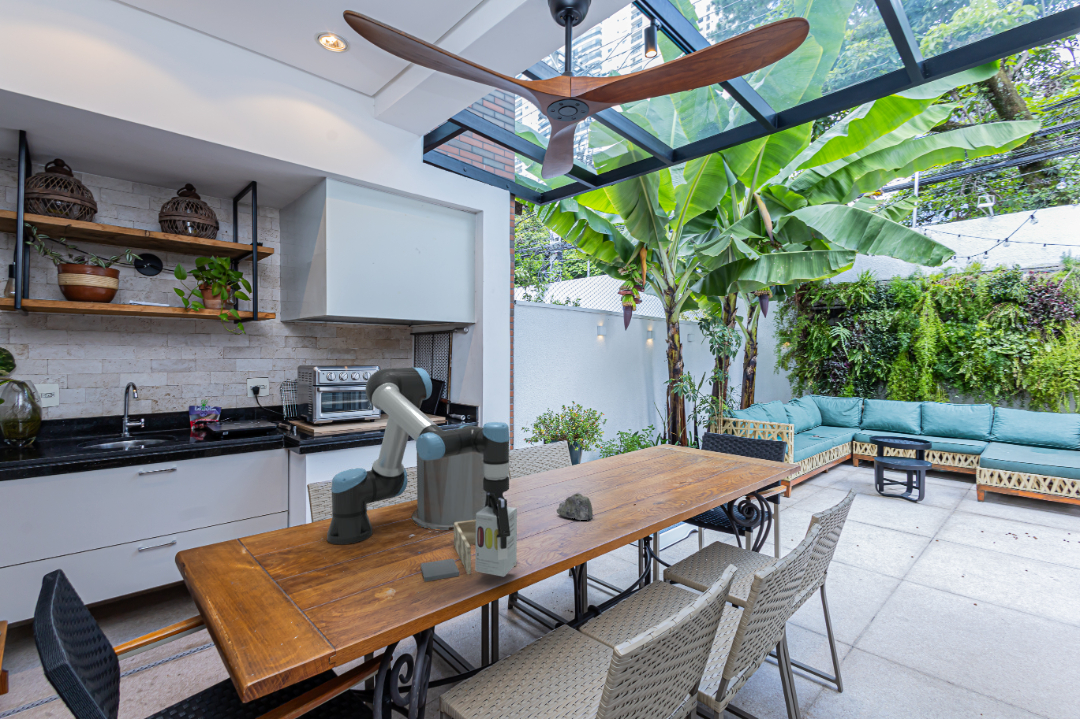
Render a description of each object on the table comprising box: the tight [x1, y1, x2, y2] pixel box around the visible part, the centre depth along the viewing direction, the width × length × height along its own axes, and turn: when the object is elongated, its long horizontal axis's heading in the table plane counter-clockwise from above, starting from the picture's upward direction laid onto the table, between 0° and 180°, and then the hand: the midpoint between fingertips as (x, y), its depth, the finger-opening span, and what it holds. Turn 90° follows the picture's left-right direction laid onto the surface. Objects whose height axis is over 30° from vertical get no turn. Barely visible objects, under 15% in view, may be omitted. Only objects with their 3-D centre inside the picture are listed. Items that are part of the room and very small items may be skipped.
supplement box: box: [474, 506, 518, 577], centre depth 141 cm, size 10×9×17 cm
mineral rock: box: [556, 492, 594, 521], centre depth 192 cm, size 13×11×10 cm
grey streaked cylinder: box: [411, 451, 486, 530], centre depth 196 cm, size 35×35×32 cm
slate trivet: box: [420, 558, 460, 583], centre depth 146 cm, size 10×10×1 cm
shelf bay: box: [453, 520, 517, 575], centre depth 157 cm, size 23×15×8 cm, turn 20°
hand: (496, 549), depth 141 cm, fingers closed on supplement box, 13 cm apart
